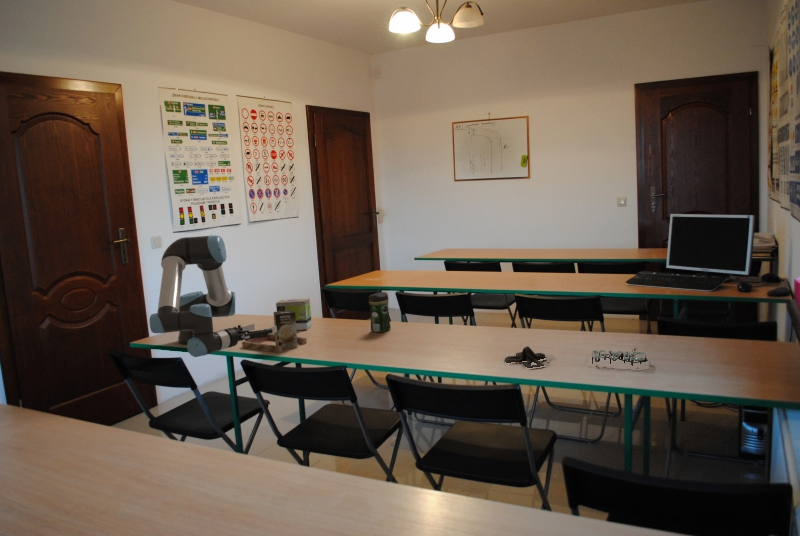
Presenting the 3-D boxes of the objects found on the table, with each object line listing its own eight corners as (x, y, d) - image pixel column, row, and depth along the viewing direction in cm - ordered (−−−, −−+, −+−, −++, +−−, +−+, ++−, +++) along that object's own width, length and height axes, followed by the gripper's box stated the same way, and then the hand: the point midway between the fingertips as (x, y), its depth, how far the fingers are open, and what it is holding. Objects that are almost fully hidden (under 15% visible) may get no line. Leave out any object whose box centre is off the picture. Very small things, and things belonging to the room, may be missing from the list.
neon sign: (649, 339, 225) (649, 361, 199) (649, 350, 226) (649, 373, 199) (592, 336, 234) (584, 357, 207) (592, 347, 234) (584, 368, 208)
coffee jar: (380, 327, 287) (378, 290, 285) (393, 329, 282) (390, 291, 280) (367, 332, 279) (365, 294, 277) (380, 333, 275) (378, 295, 272)
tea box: (312, 325, 300) (310, 297, 299) (307, 330, 291) (304, 301, 289) (283, 326, 302) (281, 298, 300) (278, 331, 292) (275, 302, 290)
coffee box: (277, 350, 255) (274, 314, 253) (275, 346, 261) (272, 311, 259) (298, 347, 258) (295, 312, 256) (296, 344, 264) (293, 309, 262)
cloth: (539, 373, 205) (539, 356, 204) (494, 365, 217) (493, 349, 216) (566, 357, 222) (566, 342, 221) (522, 351, 234) (522, 336, 233)
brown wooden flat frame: (242, 347, 264) (242, 342, 263) (270, 338, 278) (269, 333, 277) (279, 353, 250) (278, 347, 250) (306, 343, 264) (306, 338, 264)
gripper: (205, 345, 238) (245, 333, 256) (247, 351, 224) (286, 338, 242) (203, 327, 237) (244, 317, 255) (245, 332, 223) (285, 321, 241)
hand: (265, 327), depth 248 cm, fingers open, 13 cm apart
